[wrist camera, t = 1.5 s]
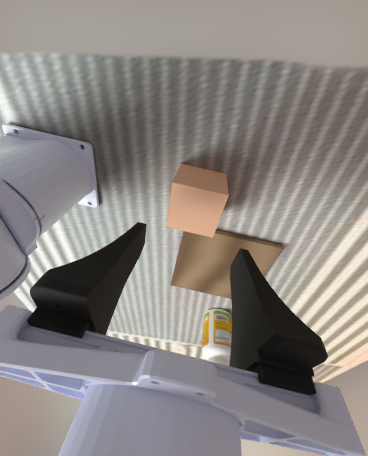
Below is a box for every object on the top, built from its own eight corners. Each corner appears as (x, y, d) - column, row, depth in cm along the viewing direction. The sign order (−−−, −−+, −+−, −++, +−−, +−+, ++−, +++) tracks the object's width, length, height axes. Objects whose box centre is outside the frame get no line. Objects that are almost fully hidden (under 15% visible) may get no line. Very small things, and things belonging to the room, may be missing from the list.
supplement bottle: (211, 323, 40) (210, 380, 32) (199, 310, 38) (195, 368, 30) (235, 319, 38) (241, 379, 30) (224, 305, 35) (227, 366, 28)
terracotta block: (173, 202, 23) (165, 226, 19) (180, 163, 20) (172, 182, 16) (213, 211, 23) (212, 237, 20) (226, 173, 20) (228, 195, 16)
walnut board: (171, 281, 33) (170, 285, 32) (185, 222, 25) (185, 226, 24) (244, 297, 33) (244, 301, 32) (281, 244, 25) (283, 248, 24)
